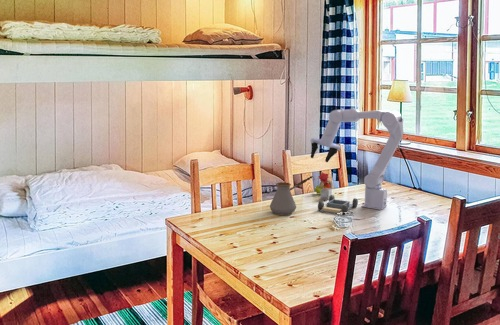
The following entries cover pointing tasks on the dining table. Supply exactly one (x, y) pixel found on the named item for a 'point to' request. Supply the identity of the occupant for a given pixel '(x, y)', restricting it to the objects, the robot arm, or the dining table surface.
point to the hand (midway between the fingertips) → (318, 159)
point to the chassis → (336, 205)
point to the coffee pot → (284, 198)
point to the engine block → (326, 193)
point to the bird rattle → (325, 181)
